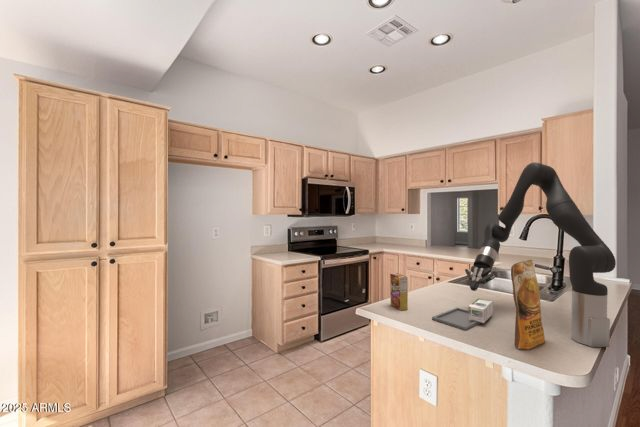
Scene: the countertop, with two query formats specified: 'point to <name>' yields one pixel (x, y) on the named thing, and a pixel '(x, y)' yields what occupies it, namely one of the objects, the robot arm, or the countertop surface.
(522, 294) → the pancake mix bag
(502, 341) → the countertop surface
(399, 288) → the candy box
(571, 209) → the robot arm
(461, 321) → the tray
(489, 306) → the syrup box
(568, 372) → the countertop surface
